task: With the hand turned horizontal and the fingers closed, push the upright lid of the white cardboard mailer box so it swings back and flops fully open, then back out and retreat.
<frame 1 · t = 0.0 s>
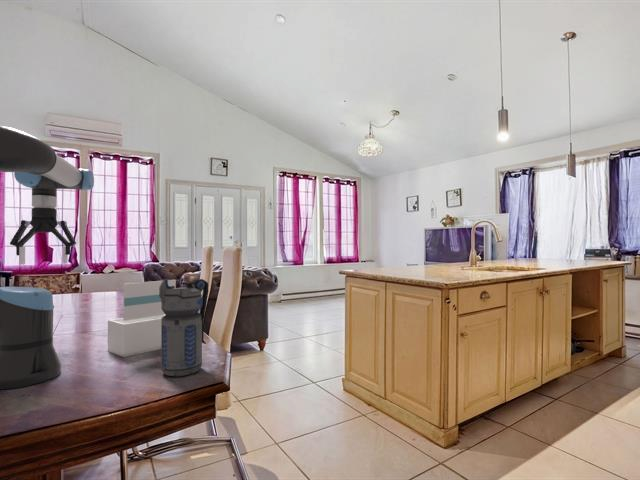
hand: (43, 264, 135), 28 cm above the table, tool pointing down, fingers open, 13 cm apart
mailer box: (141, 348, 119), on the table
beverage bottle: (185, 371, 97), on the table
lid: (151, 299, 116), point 17 cm above the table, hinge at 90.0°
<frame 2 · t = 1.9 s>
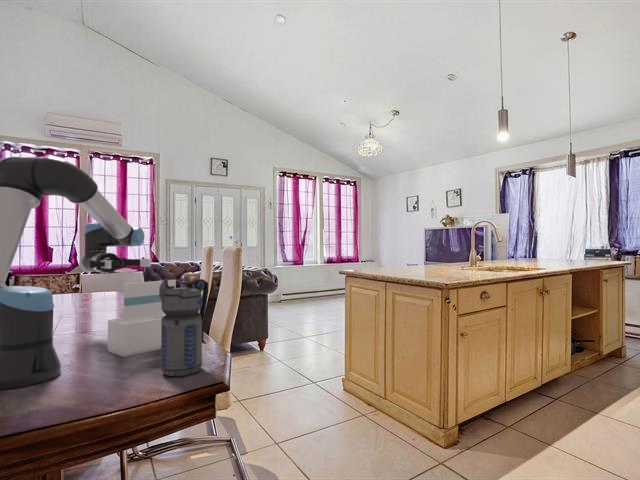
hand: (130, 263, 125), 28 cm above the table, tool horizontal, fingers open, 12 cm apart
nothing on the table moved.
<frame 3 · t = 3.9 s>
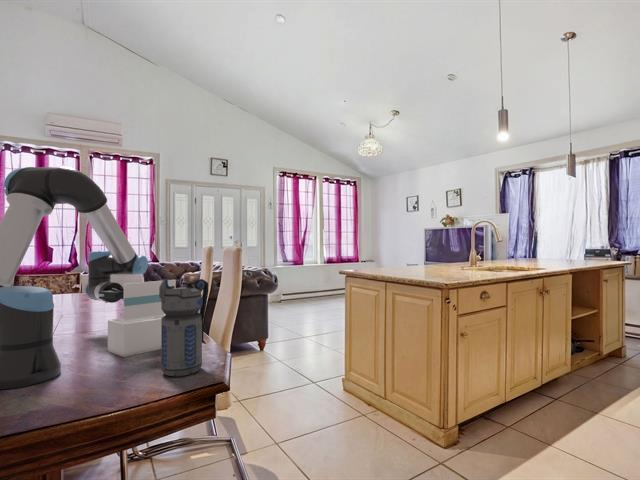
hand: (138, 296, 121), 17 cm above the table, tool horizontal, fingers closed
nothing on the table moved.
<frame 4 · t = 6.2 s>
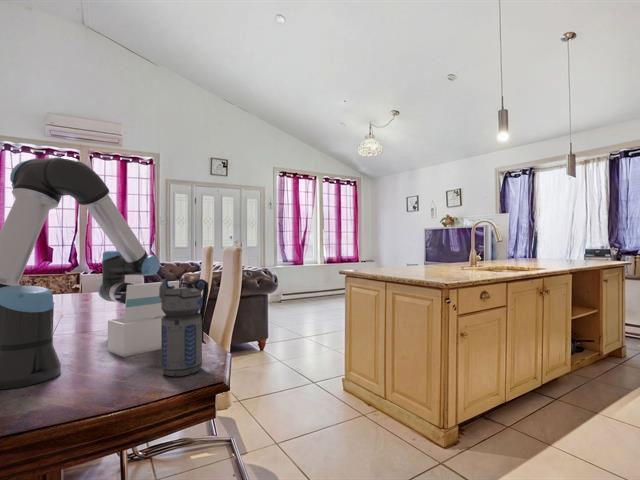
hand: (157, 298, 117), 17 cm above the table, tool horizontal, fingers closed
lid: (153, 300, 115), point 17 cm above the table, hinge at 102.1°, touching gripper
everything else where it was.
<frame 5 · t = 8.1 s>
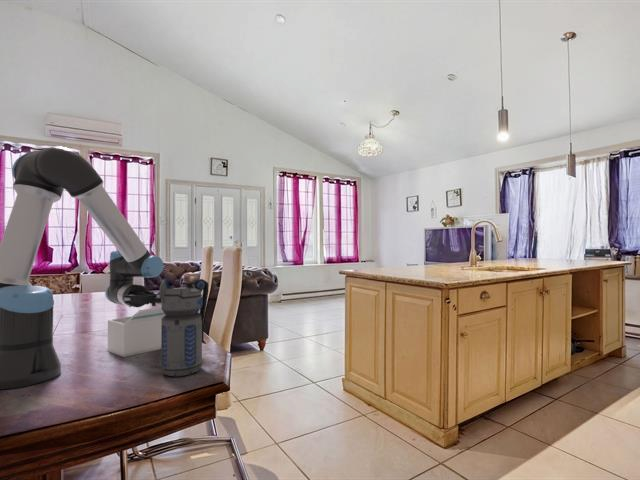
hand: (169, 300, 110), 17 cm above the table, tool horizontal, fingers closed
lid: (159, 313, 112), point 13 cm above the table, hinge at 155.2°, touching gripper
everything else where it was.
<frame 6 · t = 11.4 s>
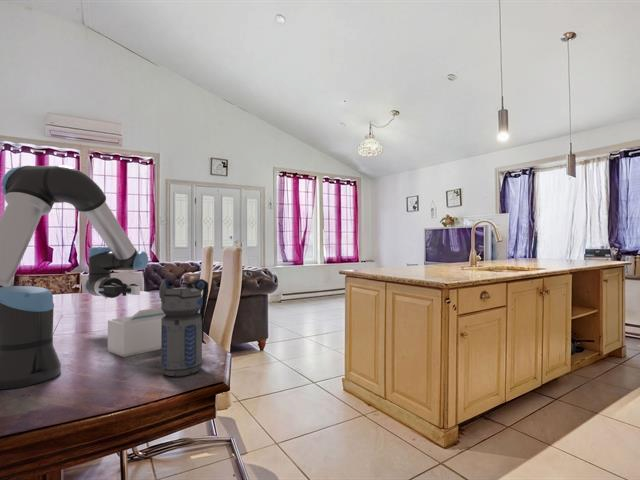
hand: (137, 290, 122), 19 cm above the table, tool horizontal, fingers closed
lid: (159, 313, 112), point 13 cm above the table, hinge at 155.5°
everything else where it was.
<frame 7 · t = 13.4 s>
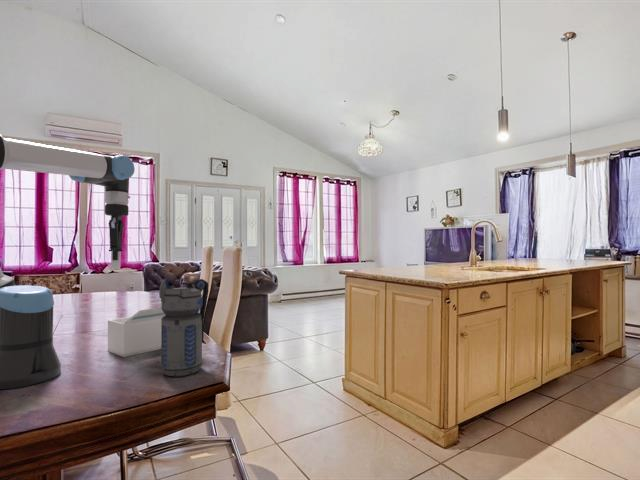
hand: (115, 269, 129), 26 cm above the table, tool pointing down, fingers closed
nothing on the table moved.
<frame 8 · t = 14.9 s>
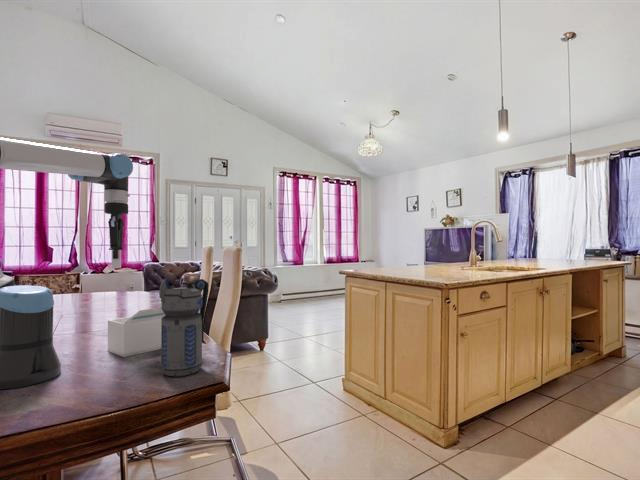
hand: (116, 268, 129), 26 cm above the table, tool pointing down, fingers closed
nothing on the table moved.
at the end: lid at +156° (first picture: +90°); the gripper is holding nothing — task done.
